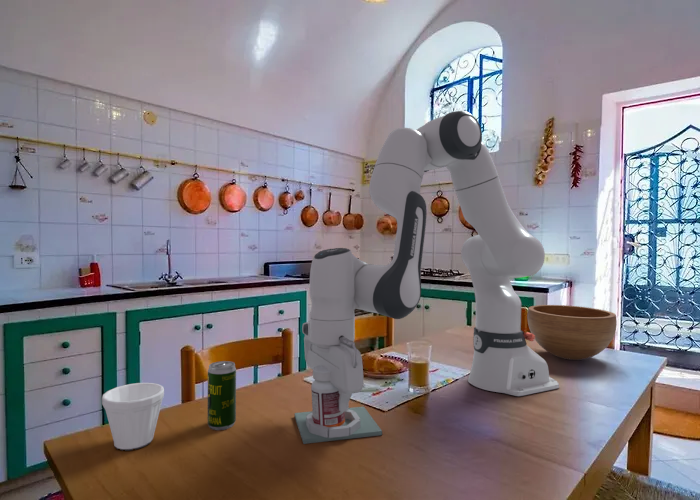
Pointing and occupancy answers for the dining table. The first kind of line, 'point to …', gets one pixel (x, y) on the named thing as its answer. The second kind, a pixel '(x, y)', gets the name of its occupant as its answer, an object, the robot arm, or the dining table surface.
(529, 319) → the bowl
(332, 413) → the pill bottle
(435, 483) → the dining table surface
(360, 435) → the collar board
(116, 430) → the cup
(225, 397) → the green soda can
